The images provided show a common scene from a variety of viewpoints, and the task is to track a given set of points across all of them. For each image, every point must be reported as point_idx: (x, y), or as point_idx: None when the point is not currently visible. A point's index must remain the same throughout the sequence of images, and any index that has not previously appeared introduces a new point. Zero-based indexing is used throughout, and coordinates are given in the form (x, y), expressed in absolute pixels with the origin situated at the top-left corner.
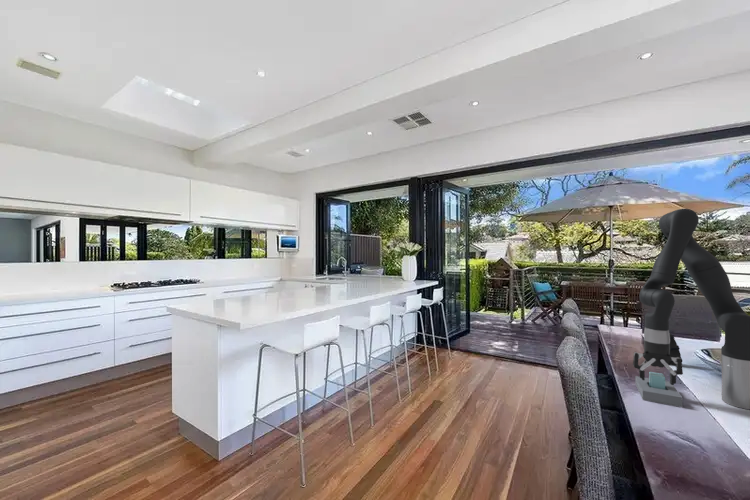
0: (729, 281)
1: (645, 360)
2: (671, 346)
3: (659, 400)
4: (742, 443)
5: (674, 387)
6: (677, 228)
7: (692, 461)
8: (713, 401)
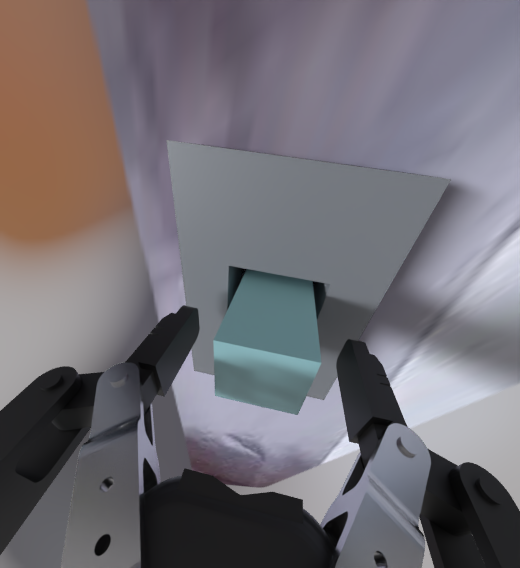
0: None
1: (78, 523)
2: None
3: None
4: (342, 455)
5: (372, 310)
6: None
7: (237, 468)
8: None
